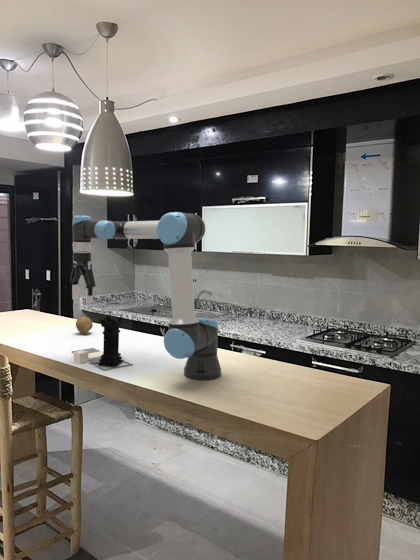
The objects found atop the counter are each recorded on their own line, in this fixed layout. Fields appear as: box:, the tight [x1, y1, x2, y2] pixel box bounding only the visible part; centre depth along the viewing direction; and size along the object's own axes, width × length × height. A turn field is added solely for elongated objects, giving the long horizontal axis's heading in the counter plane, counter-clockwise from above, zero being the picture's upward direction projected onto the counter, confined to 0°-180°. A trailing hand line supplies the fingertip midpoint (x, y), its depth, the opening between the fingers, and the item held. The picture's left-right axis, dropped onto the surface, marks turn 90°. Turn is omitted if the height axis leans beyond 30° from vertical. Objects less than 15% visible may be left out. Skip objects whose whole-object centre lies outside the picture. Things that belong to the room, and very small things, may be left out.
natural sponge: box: [75, 315, 94, 335], centre depth 250 cm, size 9×9×10 cm
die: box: [72, 349, 89, 365], centre depth 196 cm, size 4×4×5 cm
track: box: [71, 347, 103, 365], centre depth 206 cm, size 24×11×1 cm, turn 40°
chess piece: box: [97, 315, 124, 368], centre depth 192 cm, size 8×8×20 cm
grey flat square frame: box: [88, 359, 134, 372], centre depth 194 cm, size 14×14×1 cm
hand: (82, 301), depth 194 cm, fingers open, 13 cm apart
